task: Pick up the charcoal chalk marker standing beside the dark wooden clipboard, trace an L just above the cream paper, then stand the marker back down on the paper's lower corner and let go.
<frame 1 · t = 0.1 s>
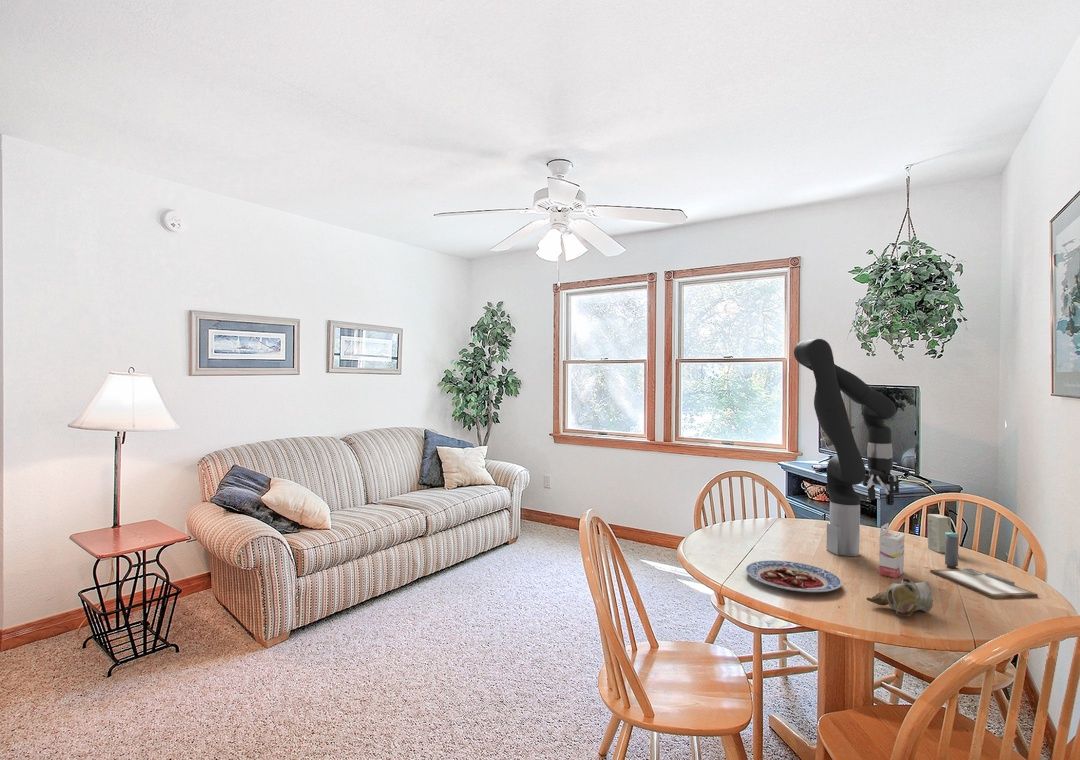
hand: (880, 502, 195), 17 cm above the table, fingers open, 8 cm apart
ink cartridge box: (891, 574, 173), on the table
skincare box: (938, 551, 198), on the table
clipboard: (980, 583, 165), on the table
ceramic sculpture: (904, 612, 144), on the table
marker: (951, 567, 179), on the table
ceramic plate: (792, 582, 165), on the table
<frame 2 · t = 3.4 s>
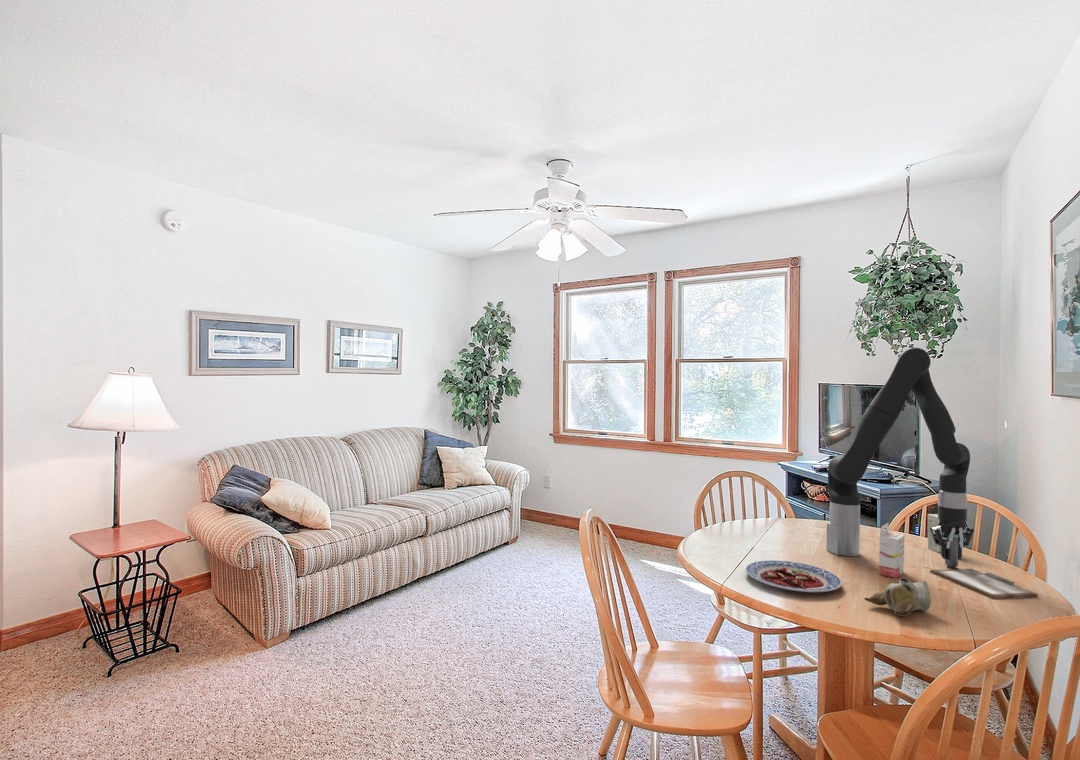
hand: (951, 558, 179), 3 cm above the table, fingers closed on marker, 3 cm apart
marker: (951, 567, 179), on the table, touching gripper
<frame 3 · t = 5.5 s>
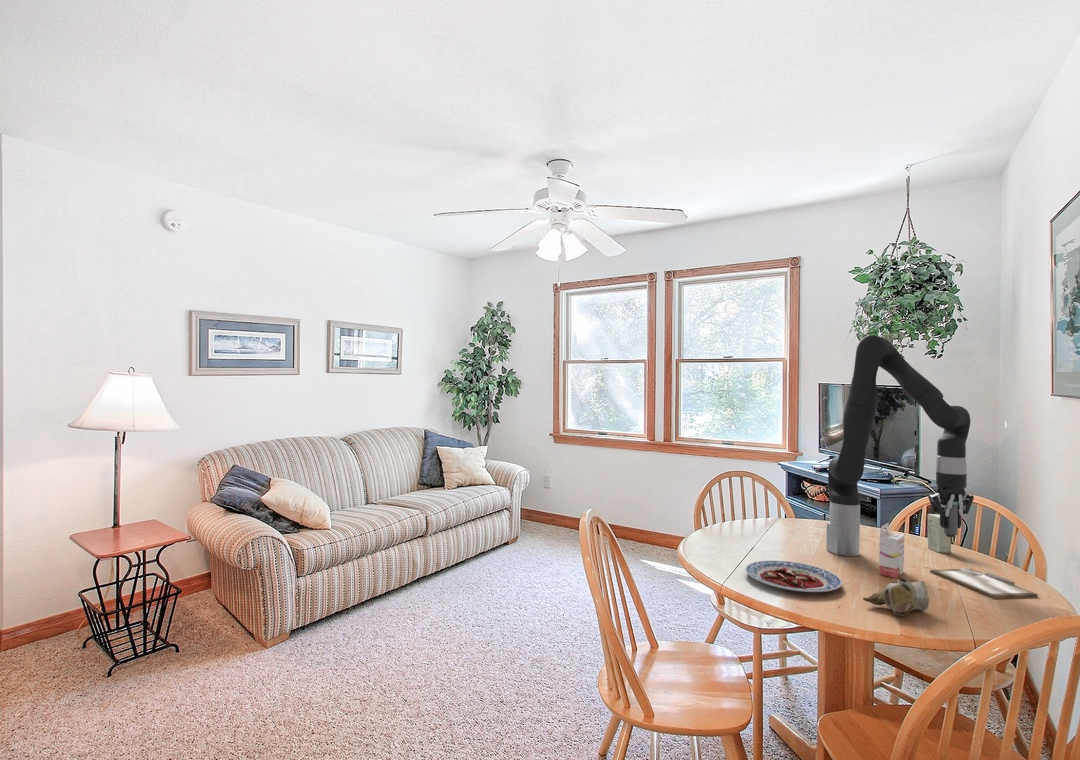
hand: (950, 527, 171), 15 cm above the table, fingers closed on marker, 3 cm apart
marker: (950, 536, 171), point 12 cm above the table, touching gripper
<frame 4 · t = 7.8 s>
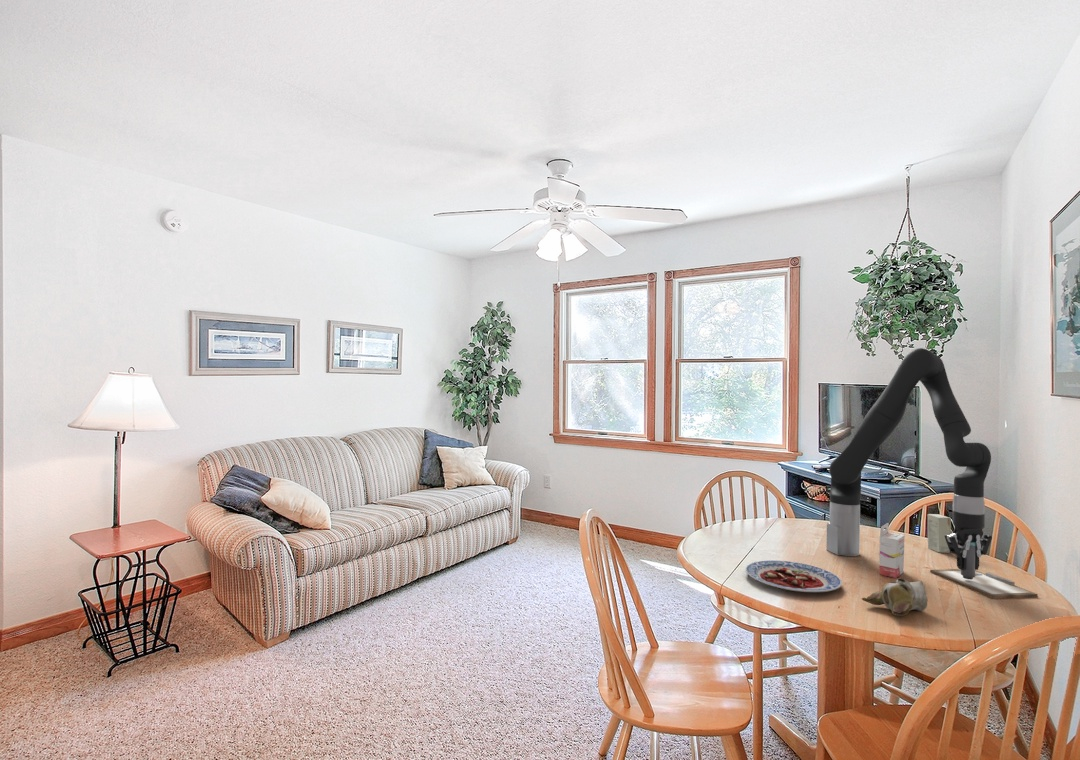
hand: (968, 568, 165), 4 cm above the table, fingers closed on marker, 3 cm apart
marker: (967, 578, 165), point 2 cm above the table, touching gripper
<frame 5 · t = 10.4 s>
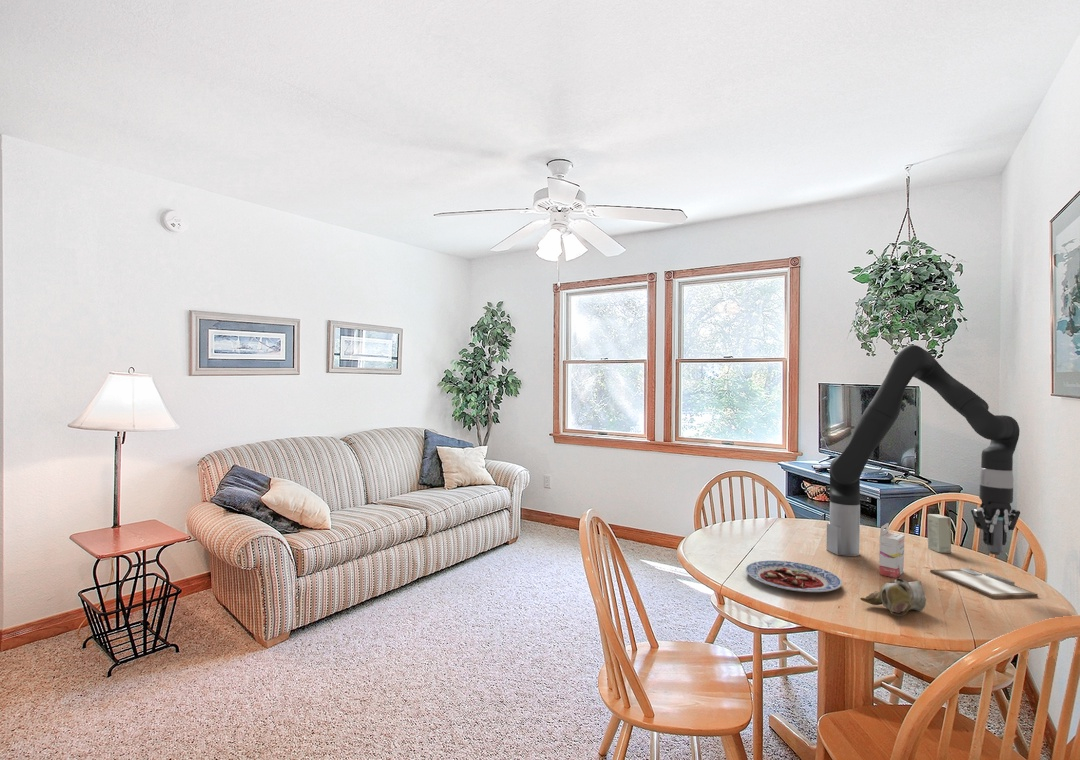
hand: (994, 544, 161), 13 cm above the table, fingers closed on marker, 3 cm apart
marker: (994, 553, 161), point 10 cm above the table, touching gripper
when the fingers open (4 cm above the table, at t = 12.5 s): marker stays where it is, resting on clipboard.
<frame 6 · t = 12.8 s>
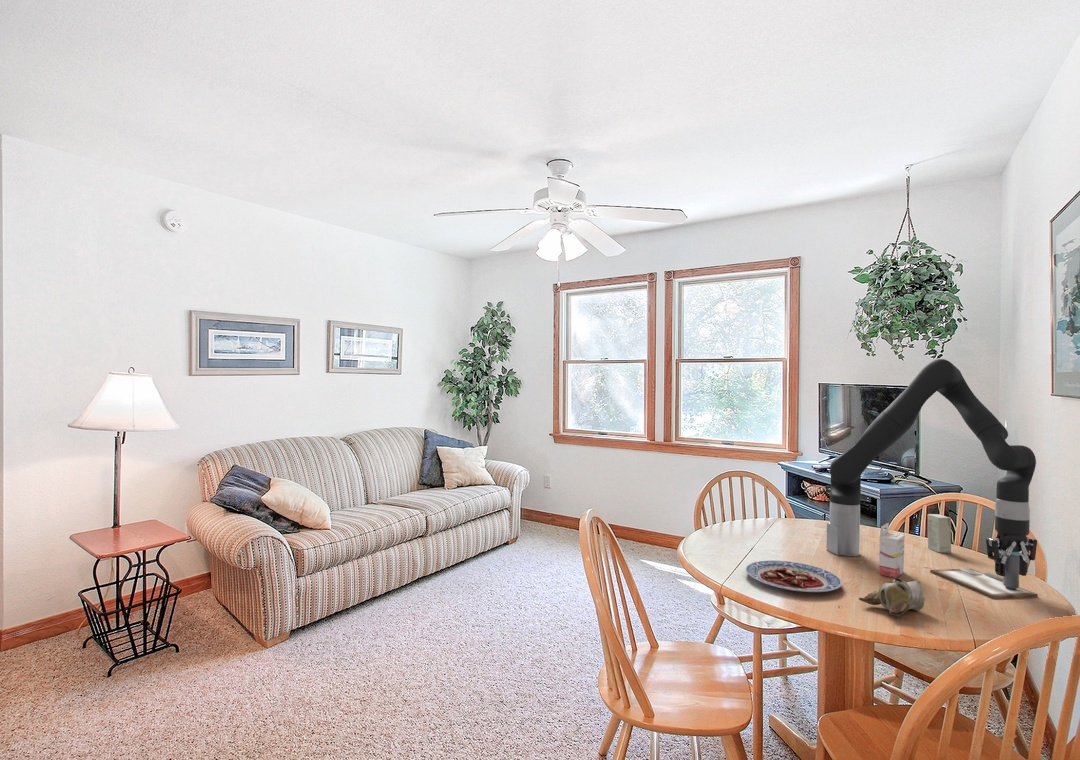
hand: (1011, 575, 159), 5 cm above the table, fingers open, 6 cm apart
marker: (1010, 588, 159), point 1 cm above the table, touching clipboard
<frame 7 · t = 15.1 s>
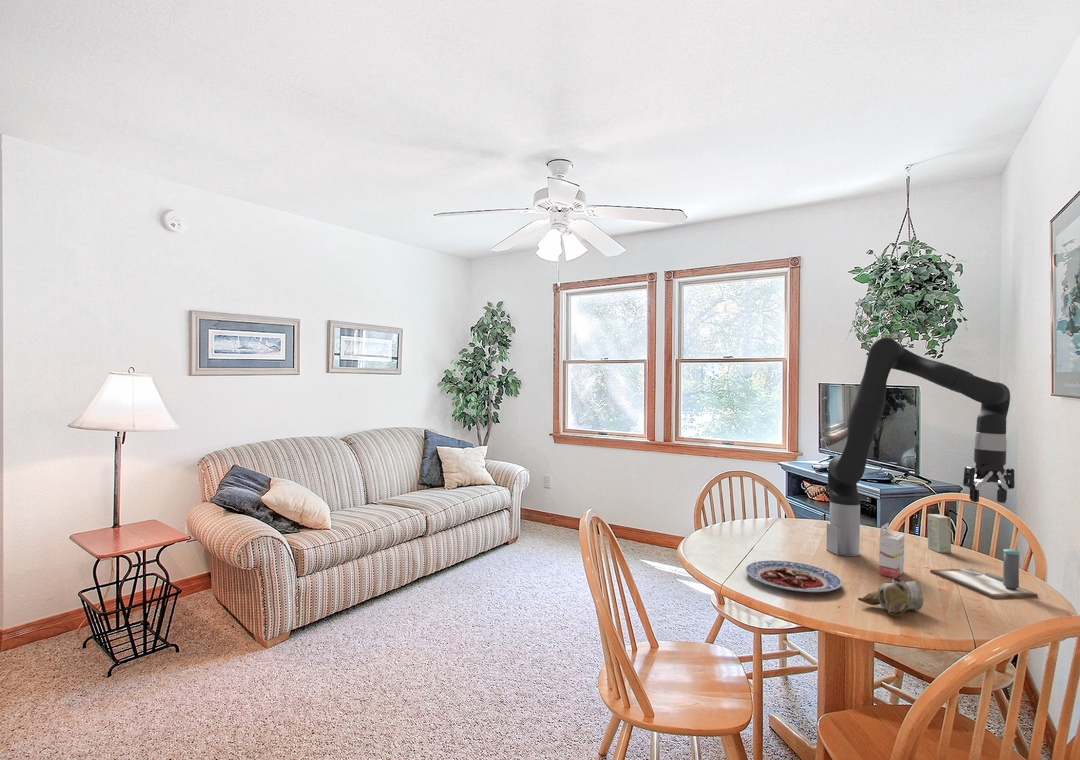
hand: (987, 502, 168), 23 cm above the table, fingers open, 8 cm apart
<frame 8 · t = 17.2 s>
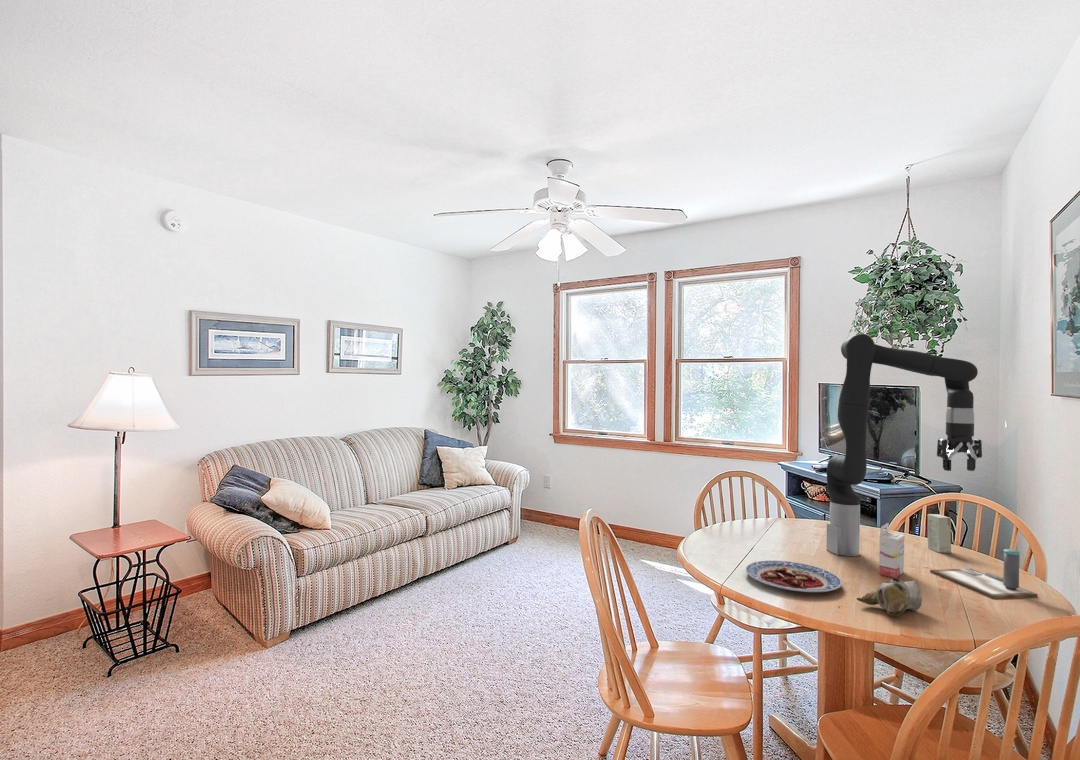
hand: (959, 470, 185), 30 cm above the table, fingers open, 8 cm apart
at the end: the gripper is holding nothing; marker inside the target area on the clipboard (6.9 cm from its centre), point 0.9 cm above the clipboard's base; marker tilted 0° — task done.
